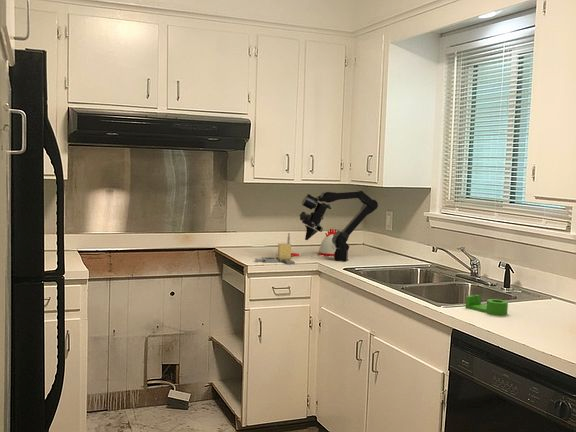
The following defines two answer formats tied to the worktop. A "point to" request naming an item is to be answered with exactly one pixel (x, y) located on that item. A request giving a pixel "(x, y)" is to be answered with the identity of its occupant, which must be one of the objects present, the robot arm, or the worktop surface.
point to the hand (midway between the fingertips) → (305, 239)
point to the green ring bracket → (492, 305)
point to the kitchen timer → (328, 244)
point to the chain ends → (274, 260)
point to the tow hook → (288, 243)
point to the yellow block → (284, 251)
